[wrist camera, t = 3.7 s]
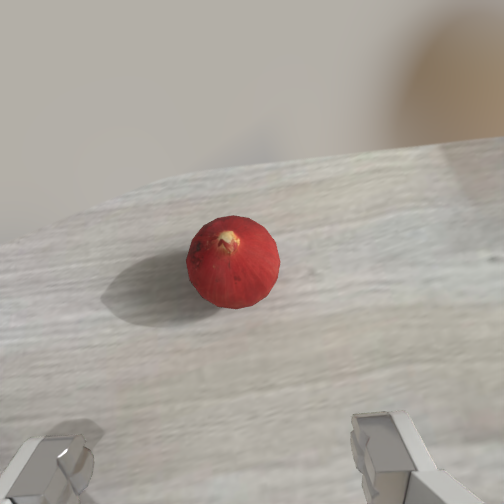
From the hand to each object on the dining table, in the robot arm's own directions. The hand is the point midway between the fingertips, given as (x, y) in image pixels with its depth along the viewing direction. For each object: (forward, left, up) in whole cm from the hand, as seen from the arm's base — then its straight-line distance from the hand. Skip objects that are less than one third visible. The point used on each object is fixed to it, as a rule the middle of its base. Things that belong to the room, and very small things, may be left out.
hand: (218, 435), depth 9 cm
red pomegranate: (-4, +7, -12) cm, 14 cm away
